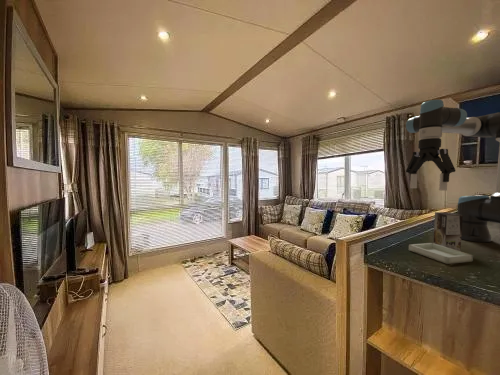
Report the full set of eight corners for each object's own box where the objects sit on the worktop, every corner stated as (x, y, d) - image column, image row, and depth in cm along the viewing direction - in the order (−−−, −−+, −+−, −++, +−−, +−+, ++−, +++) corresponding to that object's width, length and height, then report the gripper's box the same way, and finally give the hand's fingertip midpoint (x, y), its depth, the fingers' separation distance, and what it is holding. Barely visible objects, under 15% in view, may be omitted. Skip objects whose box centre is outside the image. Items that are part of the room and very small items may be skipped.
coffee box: (461, 251, 100) (463, 215, 99) (444, 250, 101) (446, 214, 100) (447, 245, 109) (449, 212, 108) (432, 244, 110) (434, 211, 109)
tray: (431, 248, 104) (431, 242, 104) (472, 261, 88) (473, 255, 88) (408, 250, 101) (408, 244, 101) (447, 264, 85) (447, 257, 85)
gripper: (398, 142, 107) (396, 187, 108) (452, 133, 82) (449, 191, 83) (412, 143, 108) (410, 187, 109) (470, 133, 83) (466, 191, 84)
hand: (427, 189), depth 96 cm, fingers open, 13 cm apart
